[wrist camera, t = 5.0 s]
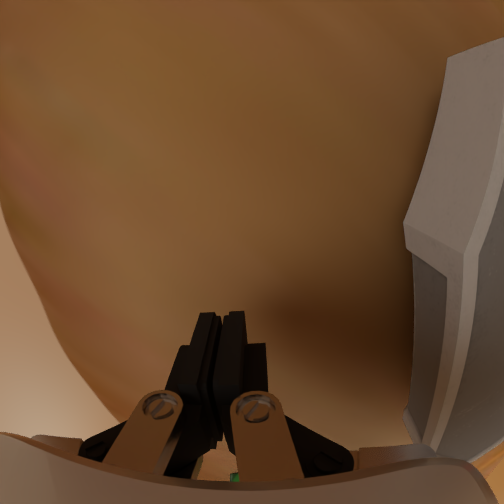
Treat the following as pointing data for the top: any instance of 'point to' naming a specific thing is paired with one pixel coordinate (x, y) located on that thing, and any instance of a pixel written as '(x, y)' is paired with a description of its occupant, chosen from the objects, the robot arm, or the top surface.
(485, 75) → the first aid kit
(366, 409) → the top surface
